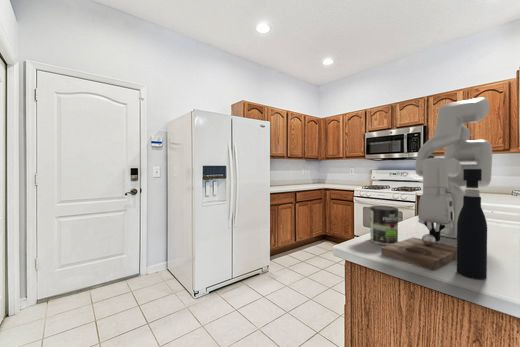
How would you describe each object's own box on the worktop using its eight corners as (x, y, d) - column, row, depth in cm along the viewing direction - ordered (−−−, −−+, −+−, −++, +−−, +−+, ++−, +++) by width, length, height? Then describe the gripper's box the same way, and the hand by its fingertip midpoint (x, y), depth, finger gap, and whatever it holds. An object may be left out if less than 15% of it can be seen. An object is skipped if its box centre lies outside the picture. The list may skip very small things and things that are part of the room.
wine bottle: (492, 280, 64) (494, 169, 64) (465, 278, 66) (467, 169, 65) (475, 270, 71) (477, 168, 70) (451, 269, 72) (452, 169, 71)
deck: (413, 243, 96) (413, 237, 96) (462, 255, 83) (462, 248, 83) (381, 254, 85) (381, 247, 84) (433, 270, 71) (433, 262, 71)
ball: (425, 242, 89) (425, 232, 89) (437, 245, 86) (437, 234, 85) (419, 244, 87) (419, 233, 87) (432, 247, 83) (432, 236, 83)
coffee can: (404, 244, 95) (404, 209, 95) (380, 246, 93) (380, 210, 93) (386, 237, 105) (386, 205, 105) (365, 238, 104) (365, 206, 103)
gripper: (464, 192, 84) (464, 244, 84) (418, 189, 97) (417, 235, 97) (455, 193, 80) (455, 248, 80) (408, 190, 93) (408, 237, 93)
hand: (434, 241), depth 89 cm, fingers closed
